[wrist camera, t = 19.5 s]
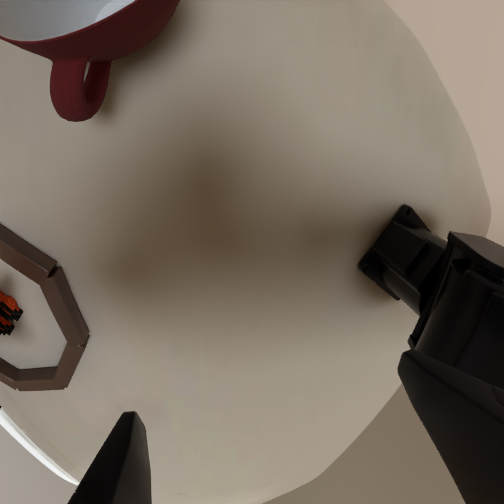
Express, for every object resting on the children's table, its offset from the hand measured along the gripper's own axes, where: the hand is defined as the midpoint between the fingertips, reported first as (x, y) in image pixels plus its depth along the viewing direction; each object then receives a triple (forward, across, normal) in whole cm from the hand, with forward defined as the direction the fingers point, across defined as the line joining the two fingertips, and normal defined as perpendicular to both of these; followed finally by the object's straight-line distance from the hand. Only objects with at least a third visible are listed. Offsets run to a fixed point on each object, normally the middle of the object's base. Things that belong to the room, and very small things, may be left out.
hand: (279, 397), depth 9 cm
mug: (+13, +5, -14) cm, 20 cm away
